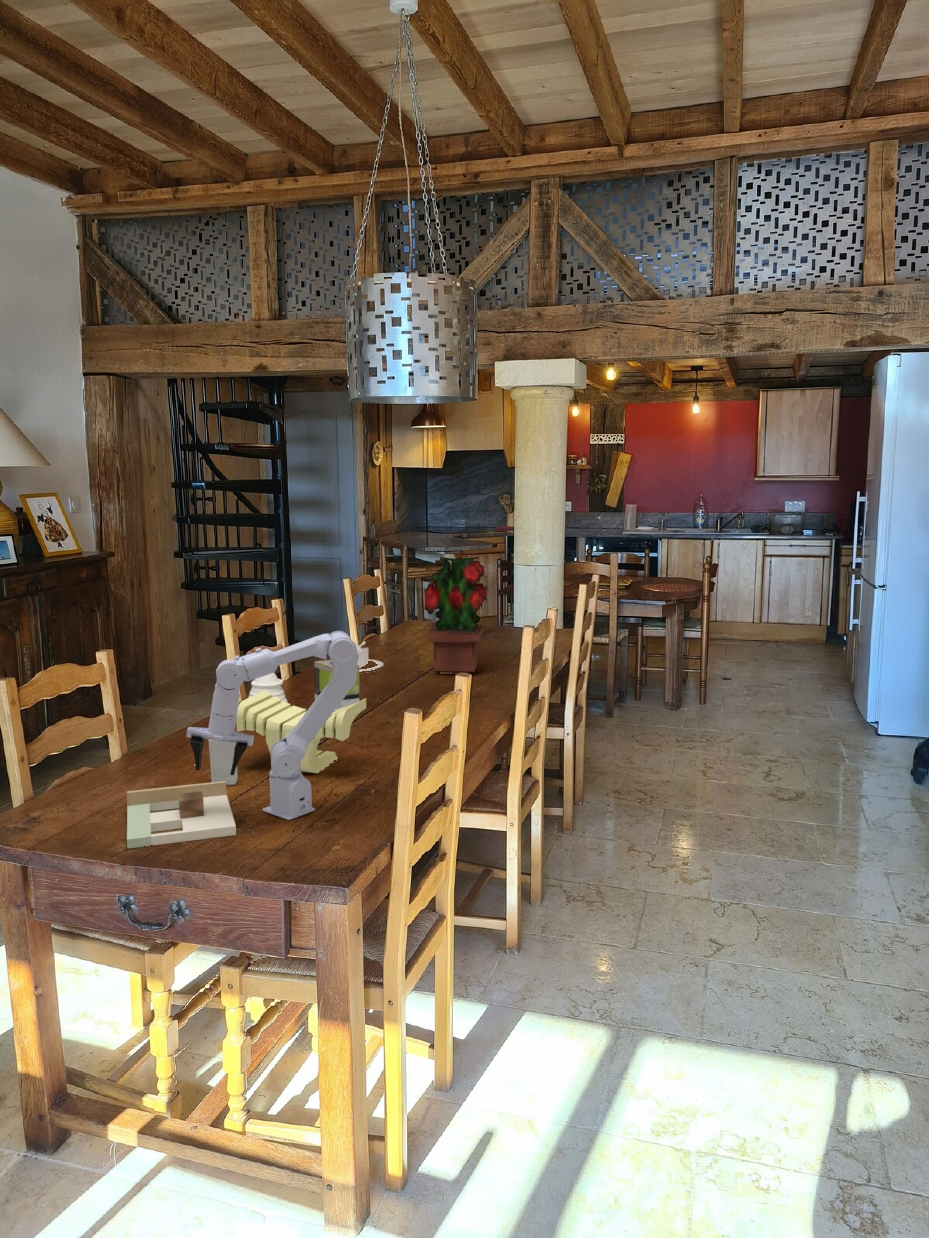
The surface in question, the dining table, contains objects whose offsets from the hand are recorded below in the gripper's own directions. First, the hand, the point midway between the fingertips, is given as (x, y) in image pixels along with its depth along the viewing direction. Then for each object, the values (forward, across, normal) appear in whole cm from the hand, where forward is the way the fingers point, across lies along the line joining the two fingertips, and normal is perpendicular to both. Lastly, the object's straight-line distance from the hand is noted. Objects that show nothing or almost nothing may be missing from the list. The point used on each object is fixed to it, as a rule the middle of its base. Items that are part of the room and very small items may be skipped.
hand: (215, 771), depth 204 cm
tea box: (+4, +26, +100) cm, 103 cm away
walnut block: (+9, -4, -2) cm, 10 cm away
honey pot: (+8, +4, +86) cm, 87 cm away
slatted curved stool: (+7, +19, +36) cm, 41 cm away
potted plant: (-5, +71, +149) cm, 165 cm away
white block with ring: (+2, +30, +163) cm, 166 cm away
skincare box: (+10, 0, +24) cm, 26 cm away
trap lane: (+12, -6, -3) cm, 13 cm away
